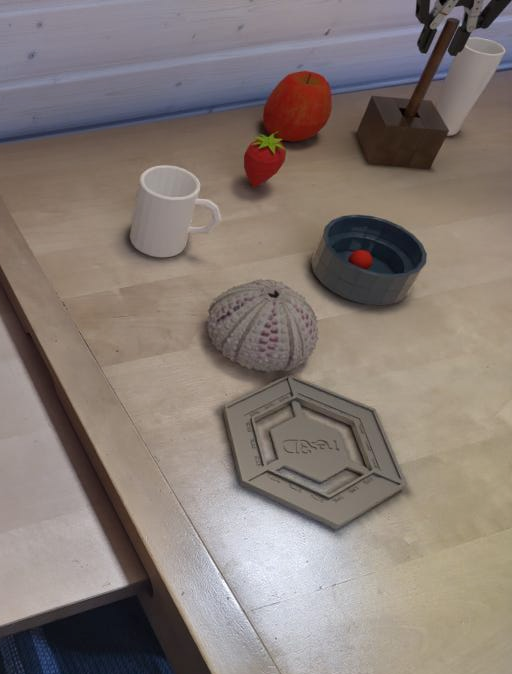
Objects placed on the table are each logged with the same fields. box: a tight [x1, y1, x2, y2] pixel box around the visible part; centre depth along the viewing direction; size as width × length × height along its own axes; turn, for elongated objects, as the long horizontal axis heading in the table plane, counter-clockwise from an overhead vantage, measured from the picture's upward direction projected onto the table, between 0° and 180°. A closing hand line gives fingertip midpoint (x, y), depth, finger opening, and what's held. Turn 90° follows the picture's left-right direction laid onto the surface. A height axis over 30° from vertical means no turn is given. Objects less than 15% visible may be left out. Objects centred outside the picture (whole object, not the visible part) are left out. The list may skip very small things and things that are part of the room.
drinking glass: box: [434, 36, 506, 137], centre depth 122 cm, size 7×7×15 cm
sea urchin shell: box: [206, 278, 320, 373], centre depth 86 cm, size 13×14×8 cm
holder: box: [355, 95, 449, 170], centre depth 119 cm, size 10×10×7 cm
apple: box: [262, 70, 333, 143], centre depth 121 cm, size 11×11×11 cm
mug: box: [129, 164, 223, 258], centre depth 98 cm, size 8×12×10 cm
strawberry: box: [243, 131, 287, 188], centre depth 109 cm, size 6×8×10 cm
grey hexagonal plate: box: [222, 373, 408, 530], centre depth 78 cm, size 17×20×1 cm
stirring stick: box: [403, 17, 461, 117], centre depth 113 cm, size 2×2×22 cm
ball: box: [348, 250, 372, 270], centre depth 97 cm, size 3×3×3 cm
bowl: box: [310, 214, 428, 306], centre depth 97 cm, size 13×13×6 cm
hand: (437, 52), depth 109 cm, fingers open, 4 cm apart
